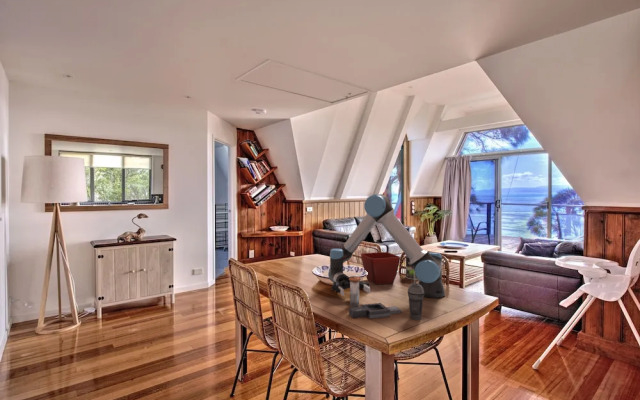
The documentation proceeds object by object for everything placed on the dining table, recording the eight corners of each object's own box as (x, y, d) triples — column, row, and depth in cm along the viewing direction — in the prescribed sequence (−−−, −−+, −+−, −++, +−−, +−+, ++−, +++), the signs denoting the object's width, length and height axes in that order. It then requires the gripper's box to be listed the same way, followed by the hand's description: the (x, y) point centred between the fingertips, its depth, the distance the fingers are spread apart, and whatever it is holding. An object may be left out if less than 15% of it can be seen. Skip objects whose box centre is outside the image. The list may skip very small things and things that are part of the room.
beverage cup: (414, 322, 145) (414, 276, 145) (403, 316, 152) (404, 272, 152) (427, 319, 148) (428, 274, 148) (416, 314, 155) (417, 271, 154)
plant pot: (360, 278, 219) (360, 253, 218) (387, 276, 223) (387, 251, 223) (371, 286, 200) (371, 258, 200) (400, 284, 205) (401, 257, 204)
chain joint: (393, 307, 164) (393, 301, 164) (403, 314, 154) (403, 308, 154) (347, 312, 157) (347, 306, 157) (355, 320, 148) (355, 313, 148)
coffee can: (421, 280, 214) (421, 258, 214) (404, 279, 218) (404, 257, 217) (422, 276, 224) (422, 255, 223) (406, 275, 227) (406, 254, 227)
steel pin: (361, 305, 168) (361, 276, 167) (358, 308, 162) (358, 279, 162) (351, 303, 170) (351, 275, 170) (347, 307, 165) (347, 278, 164)
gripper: (363, 285, 187) (380, 297, 167) (320, 289, 181) (332, 301, 160) (363, 272, 187) (380, 282, 167) (320, 275, 180) (332, 286, 160)
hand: (356, 291), depth 163 cm, fingers open, 13 cm apart
